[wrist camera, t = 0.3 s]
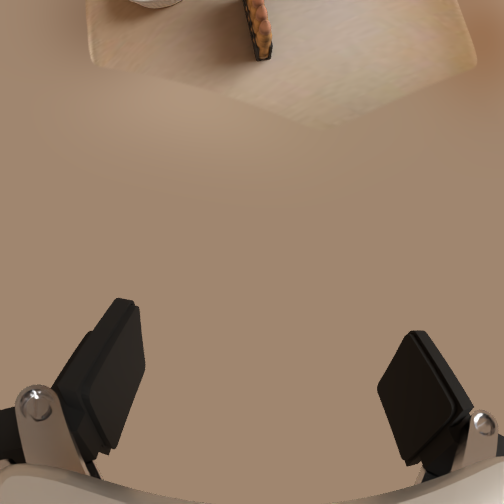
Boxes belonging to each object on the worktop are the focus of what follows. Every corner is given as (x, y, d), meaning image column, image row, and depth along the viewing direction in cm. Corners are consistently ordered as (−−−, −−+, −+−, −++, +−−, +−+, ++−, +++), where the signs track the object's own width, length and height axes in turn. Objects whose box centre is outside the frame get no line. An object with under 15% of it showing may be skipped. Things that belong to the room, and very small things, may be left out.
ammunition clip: (242, -2, 27) (237, -46, 16) (255, -3, 27) (256, -48, 15) (256, 61, 31) (257, 29, 20) (270, 59, 31) (278, 27, 20)
